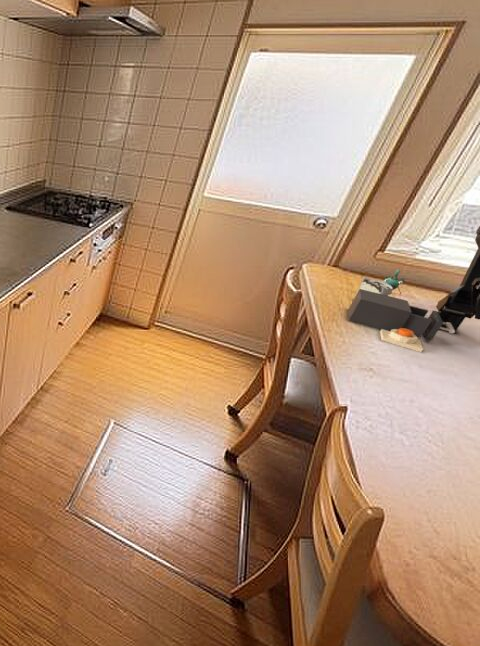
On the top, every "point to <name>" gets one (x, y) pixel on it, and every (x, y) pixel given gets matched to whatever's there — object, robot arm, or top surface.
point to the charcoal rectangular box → (378, 311)
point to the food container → (375, 286)
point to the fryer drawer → (425, 323)
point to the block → (401, 339)
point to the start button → (405, 332)
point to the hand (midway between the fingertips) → (474, 314)
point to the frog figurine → (394, 281)
